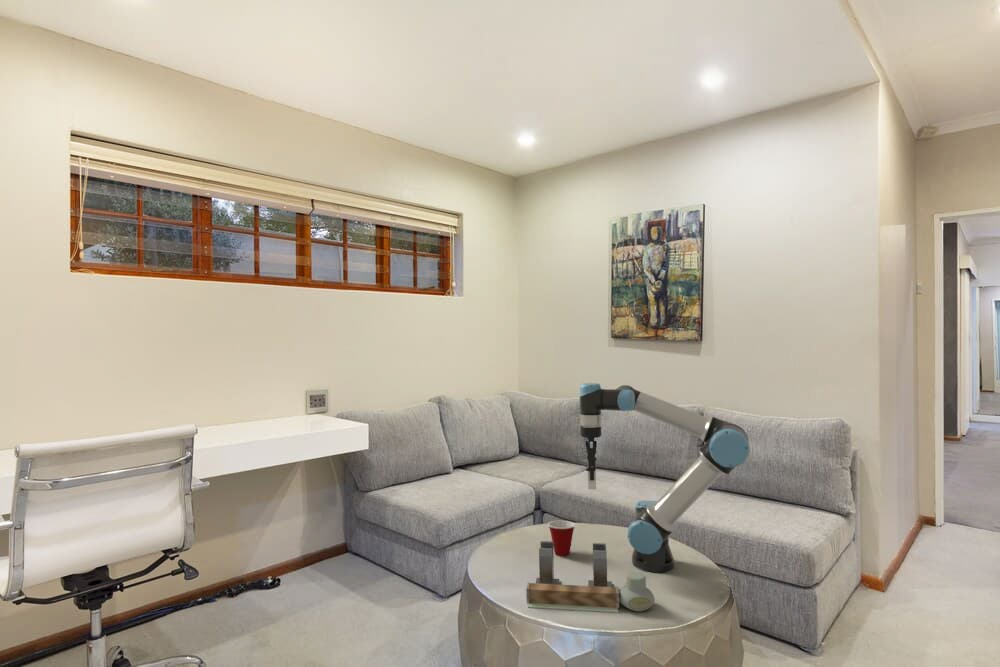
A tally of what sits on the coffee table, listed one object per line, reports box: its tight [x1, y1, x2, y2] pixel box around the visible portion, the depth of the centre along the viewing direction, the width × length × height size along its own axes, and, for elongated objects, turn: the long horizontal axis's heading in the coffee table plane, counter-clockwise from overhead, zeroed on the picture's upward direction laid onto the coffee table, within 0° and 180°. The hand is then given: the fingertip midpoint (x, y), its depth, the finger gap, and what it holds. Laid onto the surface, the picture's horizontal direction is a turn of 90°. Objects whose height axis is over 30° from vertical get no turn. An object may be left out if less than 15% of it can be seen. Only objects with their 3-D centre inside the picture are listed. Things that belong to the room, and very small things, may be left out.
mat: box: [527, 603, 619, 614], centre depth 176 cm, size 28×9×1 cm, turn 81°
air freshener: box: [619, 571, 655, 613], centre depth 173 cm, size 11×8×10 cm
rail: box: [525, 581, 620, 609], centre depth 176 cm, size 29×5×5 cm, turn 81°
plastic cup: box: [547, 520, 576, 557], centre depth 215 cm, size 11×11×12 cm
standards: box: [535, 540, 613, 587], centre depth 186 cm, size 26×10×14 cm, turn 81°
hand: (591, 483), depth 199 cm, fingers open, 13 cm apart
